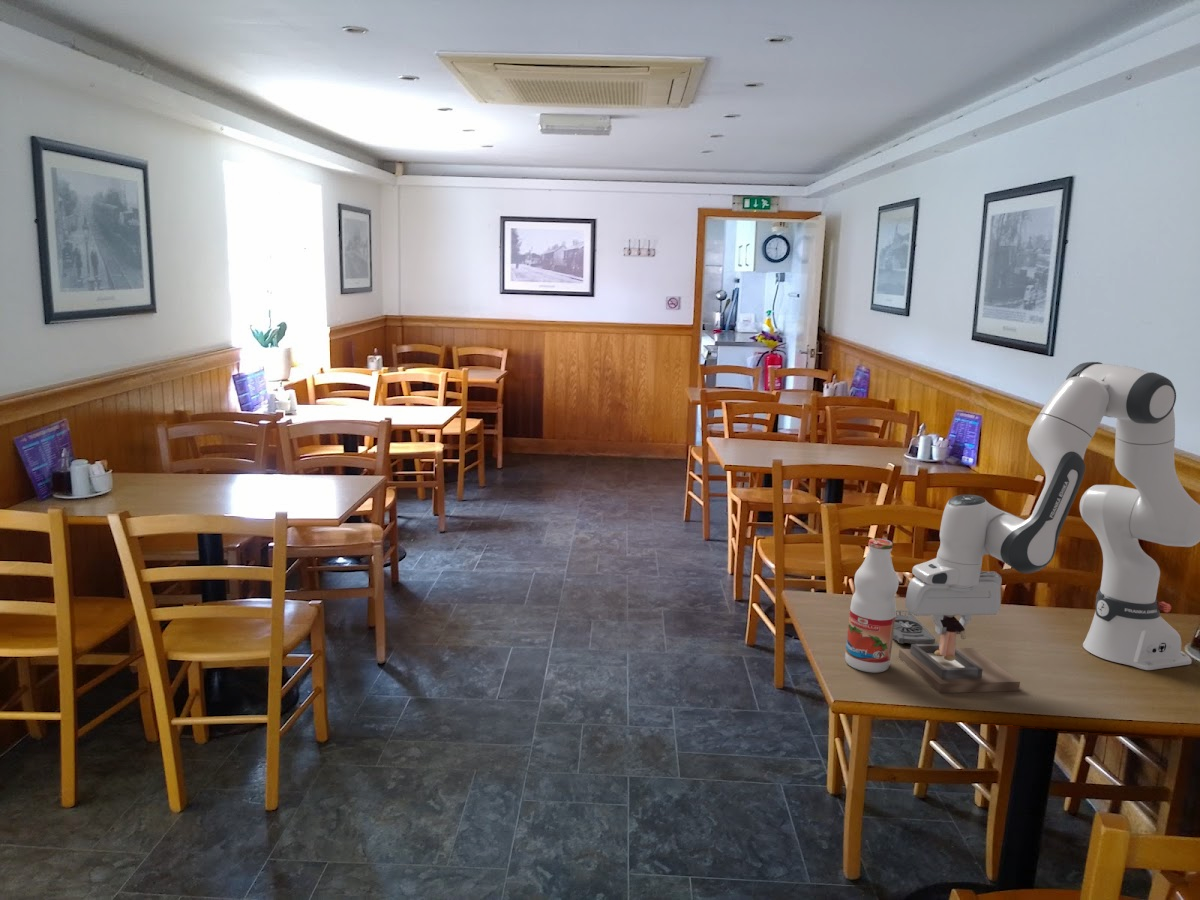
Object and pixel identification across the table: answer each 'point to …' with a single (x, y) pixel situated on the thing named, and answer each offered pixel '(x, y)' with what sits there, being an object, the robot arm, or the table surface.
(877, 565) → the fruit juice
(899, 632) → the graphics card
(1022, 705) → the table surface
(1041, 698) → the table surface
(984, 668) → the display stand
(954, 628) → the grandmother figurine
